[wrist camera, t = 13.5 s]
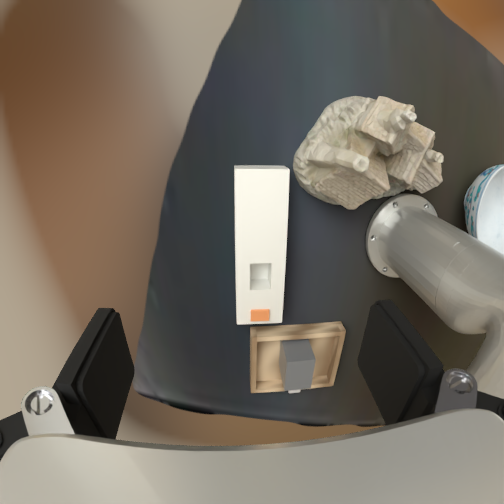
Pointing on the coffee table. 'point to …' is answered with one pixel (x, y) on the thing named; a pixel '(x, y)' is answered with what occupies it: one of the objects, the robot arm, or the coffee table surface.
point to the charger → (296, 364)
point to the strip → (260, 242)
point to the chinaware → (487, 208)
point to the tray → (319, 334)
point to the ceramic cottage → (366, 153)
